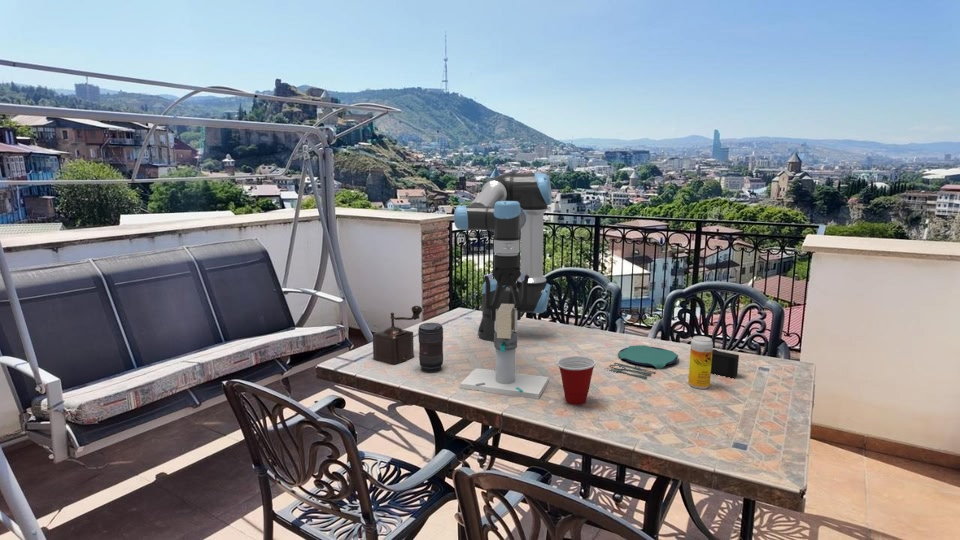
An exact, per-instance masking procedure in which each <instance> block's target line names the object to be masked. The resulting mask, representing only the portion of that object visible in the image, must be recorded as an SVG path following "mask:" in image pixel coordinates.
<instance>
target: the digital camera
mask: <svg viewBox="0 0 960 540" xmlns="http://www.w3.org/2000/svg"><path fill="white" fill-rule="evenodd" d="M739 359H740V355H739V354H736V353H730V352H725V351H722V350H721V351H720V350H717V349H714V348H713V351H712V364H711V375H714V374H716V375H715V376H718V375H720V376H719V377H723V376H725V378H728V377H730V378H729V379H732V378H734V379H735V378H736V377H738V371H739V370H738V369H739V361H740V360H739Z"/></svg>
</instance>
